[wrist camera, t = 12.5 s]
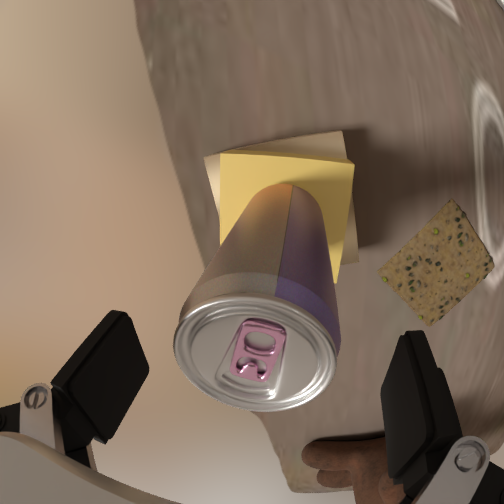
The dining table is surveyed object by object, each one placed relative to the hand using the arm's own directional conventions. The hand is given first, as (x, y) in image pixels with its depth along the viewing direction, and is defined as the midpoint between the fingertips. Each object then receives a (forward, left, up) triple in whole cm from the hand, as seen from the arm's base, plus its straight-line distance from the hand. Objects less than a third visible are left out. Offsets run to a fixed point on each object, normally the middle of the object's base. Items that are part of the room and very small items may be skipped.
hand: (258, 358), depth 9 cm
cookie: (+7, +18, -21) cm, 29 cm away
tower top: (0, 0, -18) cm, 18 cm away
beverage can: (0, 0, -15) cm, 15 cm away
